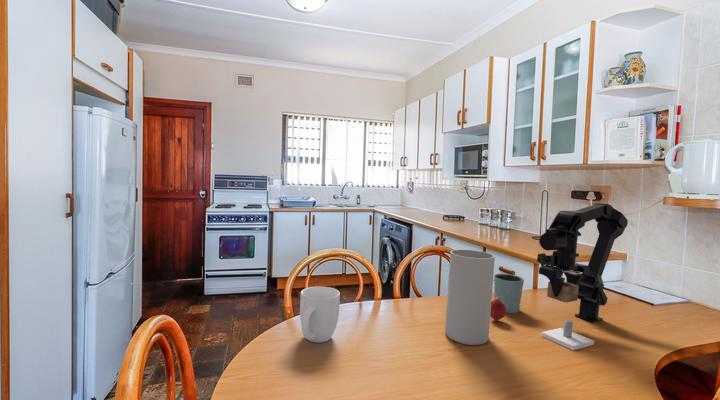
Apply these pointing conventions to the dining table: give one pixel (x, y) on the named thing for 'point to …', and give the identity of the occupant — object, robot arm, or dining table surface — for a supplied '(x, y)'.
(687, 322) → the dining table surface
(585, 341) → the post base
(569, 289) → the collar
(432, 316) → the dining table surface
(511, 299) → the grey-blue tapered cup
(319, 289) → the mug
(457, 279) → the cylinder vase
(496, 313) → the onion
